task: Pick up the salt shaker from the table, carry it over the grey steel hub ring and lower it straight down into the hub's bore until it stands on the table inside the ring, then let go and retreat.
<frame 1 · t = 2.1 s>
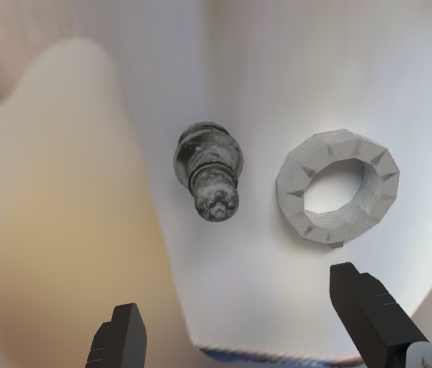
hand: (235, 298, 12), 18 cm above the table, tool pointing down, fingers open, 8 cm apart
salt shaker: (205, 148, 29), on the table
hub: (328, 182, 31), on the table
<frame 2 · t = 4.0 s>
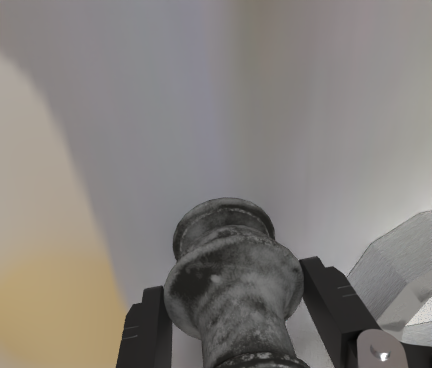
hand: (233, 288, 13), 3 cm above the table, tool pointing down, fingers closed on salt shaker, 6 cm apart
salt shaker: (223, 240, 16), on the table, touching gripper
hub: (429, 283, 19), on the table
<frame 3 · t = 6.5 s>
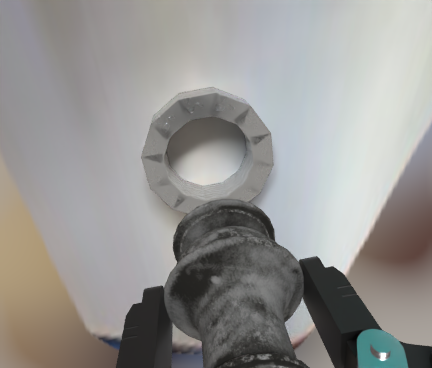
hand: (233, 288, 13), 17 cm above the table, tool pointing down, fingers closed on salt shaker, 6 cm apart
salt shaker: (223, 241, 16), point 14 cm above the table, touching gripper
hub: (206, 149, 28), on the table
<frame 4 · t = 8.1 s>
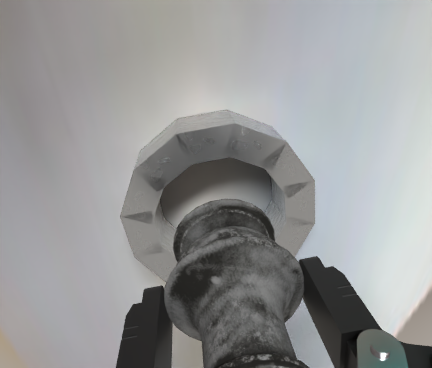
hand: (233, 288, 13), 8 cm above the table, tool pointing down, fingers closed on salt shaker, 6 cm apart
salt shaker: (224, 241, 16), point 5 cm above the table, touching gripper
hub: (216, 195, 20), on the table
when the fingers open (5 cm above the table, at t = 9.3 s): salt shaker drops 2 cm, resting in hub.
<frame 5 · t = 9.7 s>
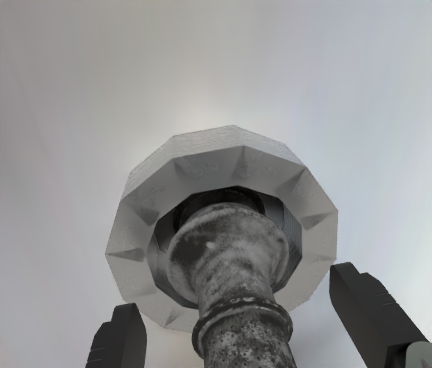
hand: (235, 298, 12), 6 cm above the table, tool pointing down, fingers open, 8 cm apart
salt shaker: (219, 219, 17), resting in hub
hub: (219, 222, 17), on the table
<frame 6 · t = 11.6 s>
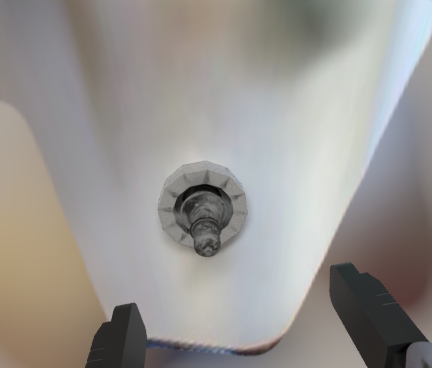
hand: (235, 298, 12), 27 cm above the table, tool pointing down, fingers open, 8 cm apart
salt shaker: (202, 199, 41), resting in hub
hub: (202, 200, 41), on the table
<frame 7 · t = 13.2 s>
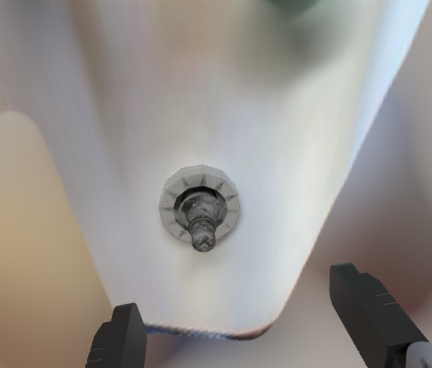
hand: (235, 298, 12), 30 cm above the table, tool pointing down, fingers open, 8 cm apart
salt shaker: (199, 199, 45), resting in hub
hub: (199, 200, 44), on the table
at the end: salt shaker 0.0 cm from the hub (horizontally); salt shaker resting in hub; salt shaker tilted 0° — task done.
